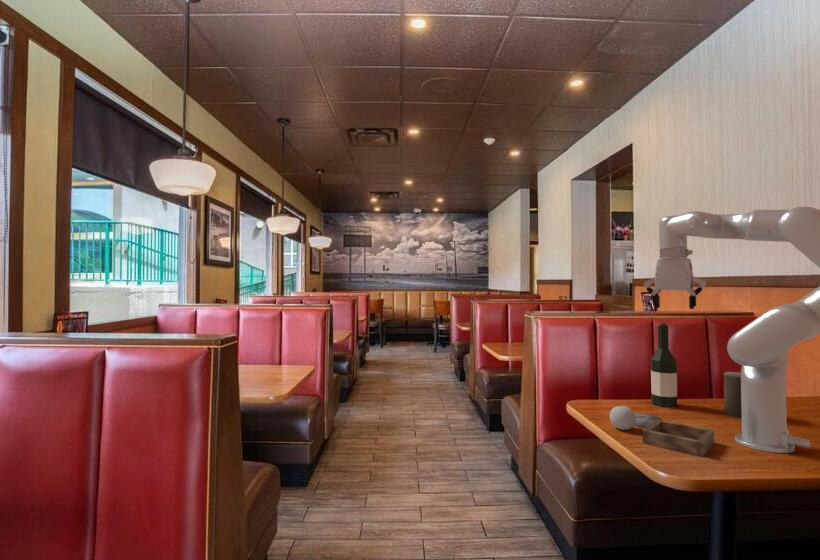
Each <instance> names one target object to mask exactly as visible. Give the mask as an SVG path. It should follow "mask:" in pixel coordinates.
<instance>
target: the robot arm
mask: <svg viewBox="0 0 820 560" xmlns="http://www.w3.org/2000/svg"><path fill="white" fill-rule="evenodd" d="M658 228H659V229H658V231H659V236H658V237H659V259H657V260H656V266H655V274H654V275H655V276H654V277H652V278H650V279H648V280H646V281H644V282H643V286H644V287H645V288H646V289H645V290H646V291H647V292H648V293H649V294H650V295H651V296H652V305H653V306H654V308H655V309H659V308H661V307H660V306H661V305H660V304H661V302H660V299H661V297H660V295H659V294H660V293H661V292H662V291H686V292H687V293H689V294H690V296H688V297H689V298H688V302H689V303H688V304H689V305H688V309H690V310H694V309H695V307H697V296H698V295H699V294H701V292H702V291H703V290H704V288H705V287H706V285H707V282H706V281H705V280H702V279H701V278H697V277H695V276H694V271H693V264H692V260H691V258H688V257H689V256H690V255H693V250H692V249H688V237H696V238H698V237H699V238H703V239H704V238H705V239H721V240H722V239H724V240H744V241H755V242H784V243H785V242H786V243H790V244H791V245H792V246H794V248H795V249H797V250H798V251H799V252H800V253H802V254H803V255H804V256H805V257H806V258H808V259H809V260H810V261H811V262H812V263H813V264H814V265H815V266H816V267H818V268H819V269H820V209H819V208H815V207H811V206H798V207H797V206H796V207H793V208H790V209H756V210H755V209H754V210H751V211H749V212H747V213H740V214H737V213H736V214H723V213H722V214H718V213H717V214H714V213H708V212H705V211H697V210H696V211H695V210H694V211H689V212H686V213H683V214H678V215H676V214H674V215H668V216H663V217H661V218H660V219H659V222H658ZM694 282H695V283H697V284H698V287H697V288H696V289H695V288H694V286H695V285H694ZM651 284H654V288H652V286H651ZM819 334H820V285H819V286H818V287H816V288H814V289H813V290H812V291H811V292H809V293H808V294H806V295H804V296H803V297H802V298H801V299H799V300H797V301H794V302H793V303H792V302H791V303H787V304H780V305H778V306H774V307H772V308H771V309H769V310H767V311H765V312H764V313H762V314H761V315H760V316H758V317H757V318H755V319H754V320H752V321H750V322H749V323H747V324H746V325H745V326H744V327H742V328H741V329H739V330H738V331H737V332H735V333H733V335H731V337H730V338H729V339H728V342H727V344H726V345H727V347H726V349H727V350H726V351H727V354H728V355H729V357H730V358H731V359H732V361H733V362H735V363H736V364H738V365H740V366H741V370H740V371H741V372H740V373H741V412H742V418H741V433H737V434H735V436H734V441H735V442H736V443H738V445H742V446H744V447H747V448H750V449H753V450H758V451H761V452H767V453H773V454H774V453H775V454H789V453H790V454H791V453H793V452H795V450H796V447H795V446H800V447H802V448H807V449H810V448H811V440H810V439H805V438H804V437H800V436H794V435H792V434H790V430H789V429H787V428H788V426H787V425H788V424H787V368H788V367H787V366H788V358H789V349H791V348H792V347H794V346H796V345H798V344H799V343H801V342H804V341H808V340H809V341H810V340H811V339H814V338H815V337H817V336H819Z"/></svg>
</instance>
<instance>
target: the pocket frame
mask: <svg viewBox="0 0 820 560" xmlns="http://www.w3.org/2000/svg"><path fill="white" fill-rule="evenodd" d="M714 443H715V430H714V429H709V428H705V427H698V426H694V425H688V424H683V423H677V422H672V421H667V420H663V419H662V420H658V419H657V420H656V421H654V422H653V423H652V424H650V425H649V426H648V427H644V429H643V430H642V444H645V445H650V446H654V447H658V448H663V449H666V450H670V451H674V452H675V451H676V452H680V453H684V454H688V455H692V456H698V457H701V458H704V457H705V456H706V455H707V453H708V452H709V450H710V449H711V448H712V446H713V445H714Z"/></svg>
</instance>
